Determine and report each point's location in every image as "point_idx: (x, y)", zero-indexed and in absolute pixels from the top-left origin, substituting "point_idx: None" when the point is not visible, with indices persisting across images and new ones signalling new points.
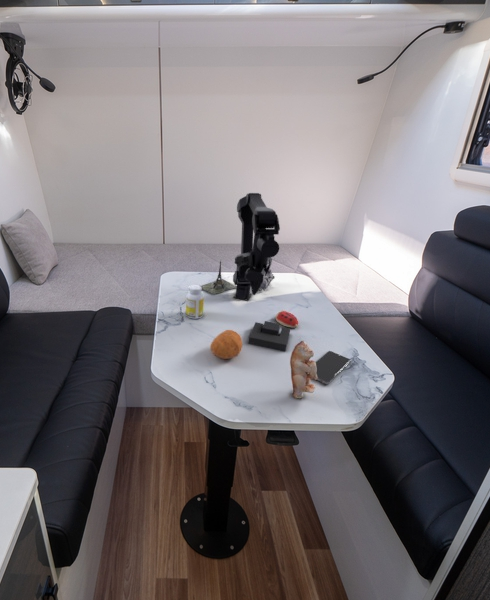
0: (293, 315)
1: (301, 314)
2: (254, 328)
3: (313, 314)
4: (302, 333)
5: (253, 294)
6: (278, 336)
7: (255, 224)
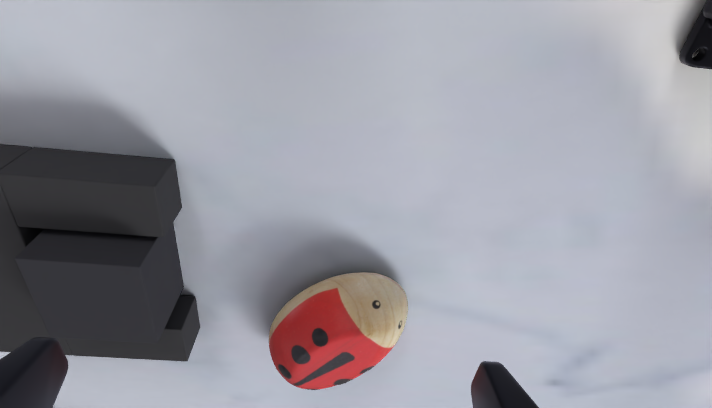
0: (334, 384)
1: (464, 365)
2: (43, 188)
3: None
4: (252, 368)
5: (39, 351)
6: None
7: None
